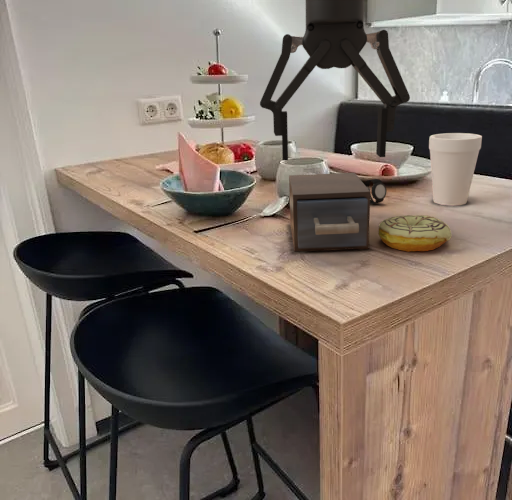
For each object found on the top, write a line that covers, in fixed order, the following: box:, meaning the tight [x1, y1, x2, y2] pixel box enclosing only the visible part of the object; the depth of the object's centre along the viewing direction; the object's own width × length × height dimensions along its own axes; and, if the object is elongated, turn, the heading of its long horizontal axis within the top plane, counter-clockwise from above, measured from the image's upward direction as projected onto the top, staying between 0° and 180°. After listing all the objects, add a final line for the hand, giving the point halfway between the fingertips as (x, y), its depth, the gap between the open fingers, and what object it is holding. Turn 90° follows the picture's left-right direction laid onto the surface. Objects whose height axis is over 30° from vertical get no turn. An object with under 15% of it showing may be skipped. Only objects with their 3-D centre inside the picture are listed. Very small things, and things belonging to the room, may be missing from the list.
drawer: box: [297, 197, 368, 248], centre depth 79 cm, size 19×10×7 cm, turn 179°
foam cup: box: [428, 132, 483, 207], centre depth 99 cm, size 10×9×13 cm
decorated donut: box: [378, 214, 453, 253], centre depth 79 cm, size 10×11×4 cm
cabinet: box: [288, 172, 371, 252], centre depth 83 cm, size 15×12×9 cm
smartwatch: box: [363, 178, 388, 205], centre depth 102 cm, size 4×5×5 cm
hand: (332, 157), depth 72 cm, fingers open, 13 cm apart
